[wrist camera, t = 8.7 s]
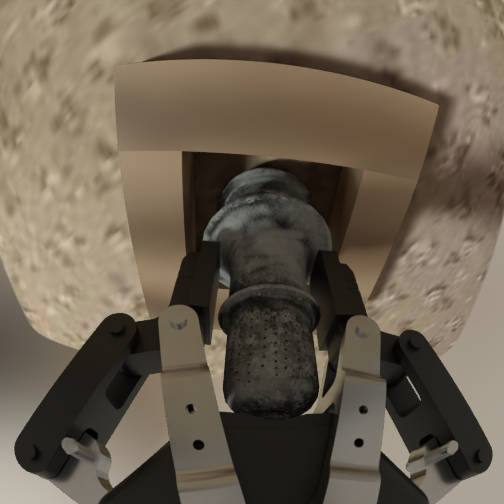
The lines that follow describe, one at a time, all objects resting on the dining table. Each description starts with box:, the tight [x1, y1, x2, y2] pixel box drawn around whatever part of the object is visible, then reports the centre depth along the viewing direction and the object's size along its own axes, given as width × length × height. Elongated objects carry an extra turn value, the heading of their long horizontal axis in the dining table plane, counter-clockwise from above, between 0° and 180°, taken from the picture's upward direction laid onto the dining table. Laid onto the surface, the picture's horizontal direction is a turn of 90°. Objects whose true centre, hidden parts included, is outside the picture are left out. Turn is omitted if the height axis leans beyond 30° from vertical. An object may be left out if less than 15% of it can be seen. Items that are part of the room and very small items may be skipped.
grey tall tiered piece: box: [203, 168, 332, 421], centre depth 11 cm, size 6×6×12 cm
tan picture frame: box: [115, 59, 439, 335], centre depth 15 cm, size 16×14×3 cm
